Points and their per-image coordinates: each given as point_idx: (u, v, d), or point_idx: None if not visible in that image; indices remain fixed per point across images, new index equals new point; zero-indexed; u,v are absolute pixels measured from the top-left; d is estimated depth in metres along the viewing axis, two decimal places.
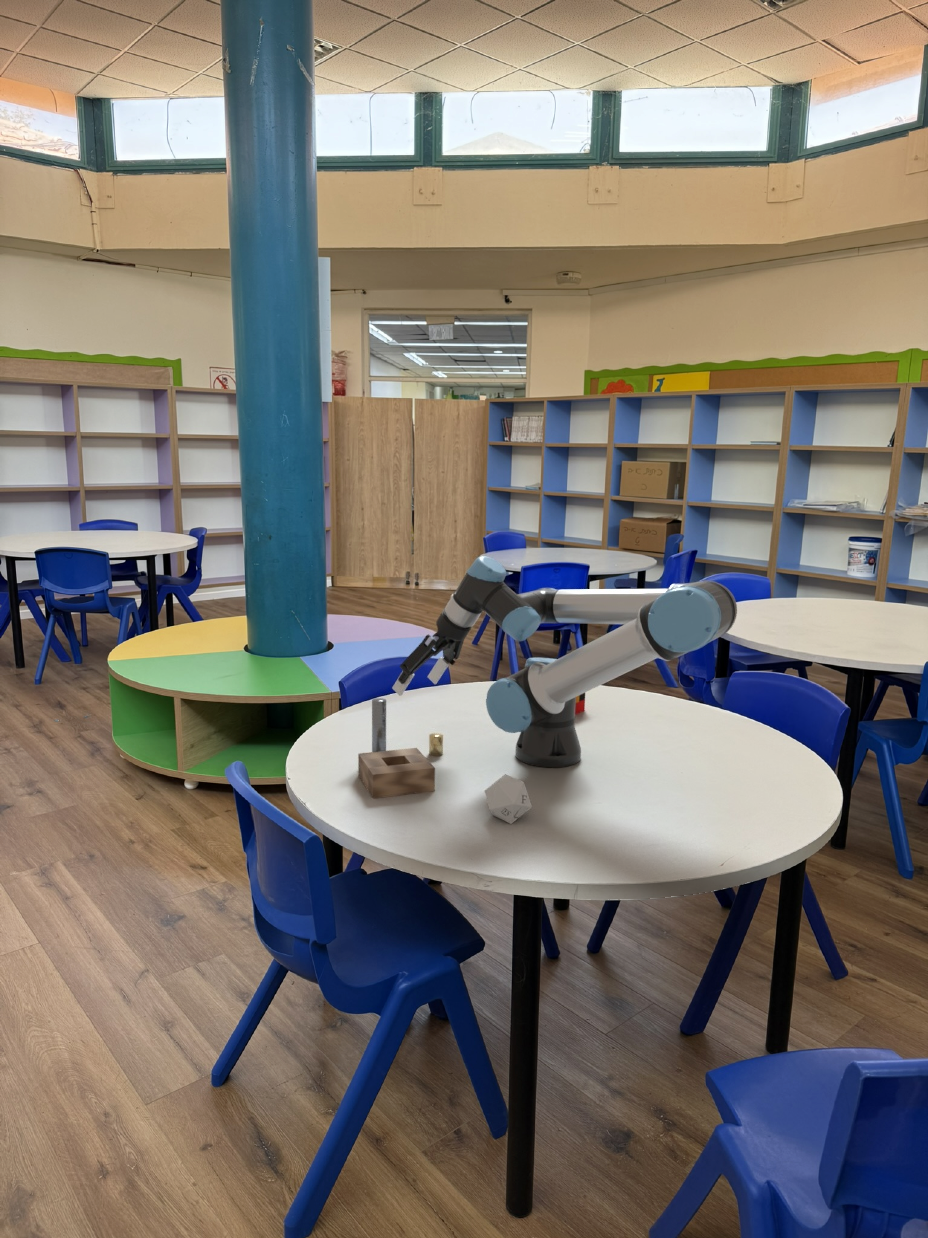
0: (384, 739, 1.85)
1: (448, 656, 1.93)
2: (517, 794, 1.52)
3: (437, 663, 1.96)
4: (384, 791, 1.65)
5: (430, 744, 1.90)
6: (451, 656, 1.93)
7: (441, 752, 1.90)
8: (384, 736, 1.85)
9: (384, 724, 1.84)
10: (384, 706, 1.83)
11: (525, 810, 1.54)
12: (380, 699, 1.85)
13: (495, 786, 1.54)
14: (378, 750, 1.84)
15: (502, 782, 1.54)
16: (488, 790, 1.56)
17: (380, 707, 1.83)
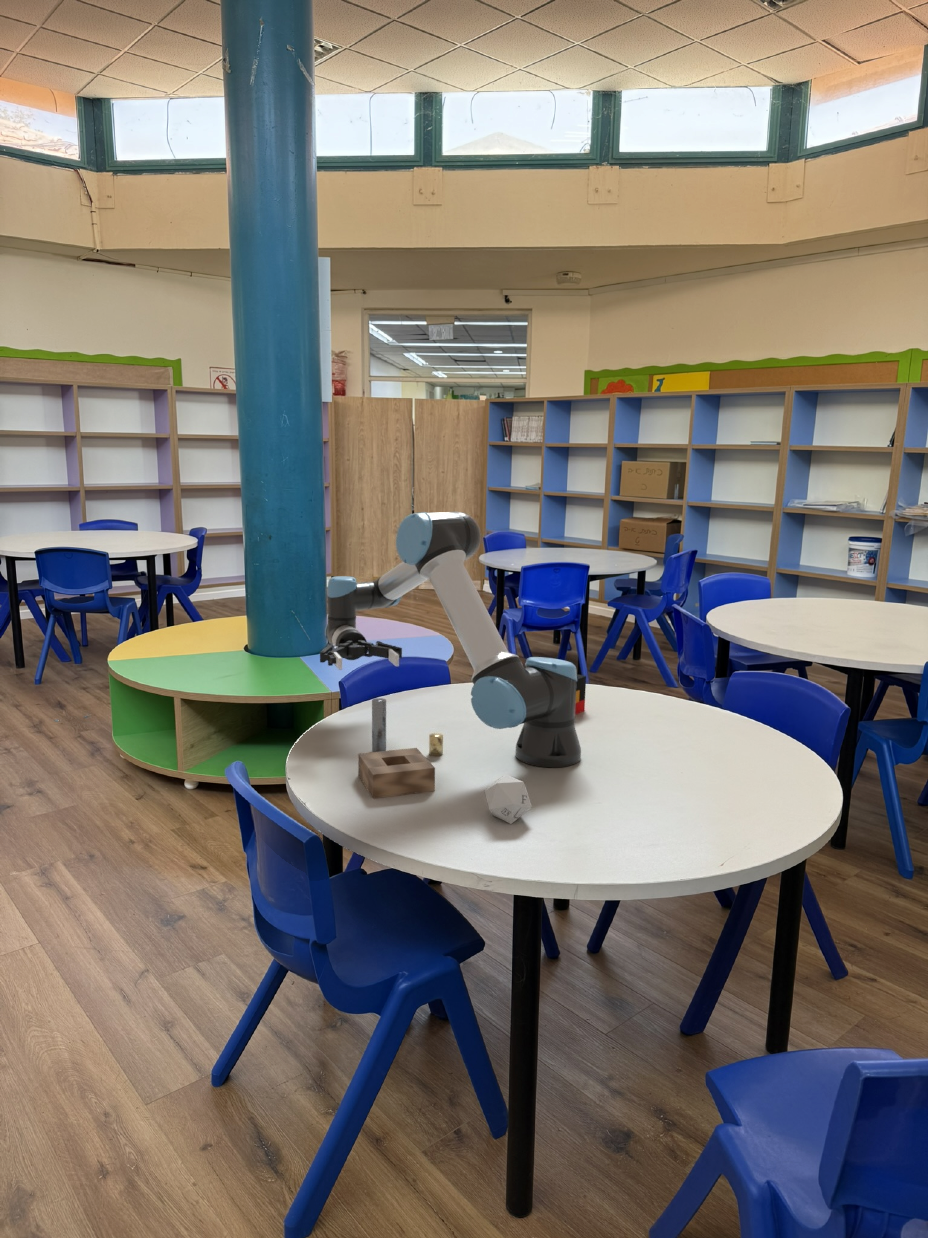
0: (384, 739, 1.85)
1: (381, 649, 2.02)
2: (517, 794, 1.52)
3: (390, 660, 1.98)
4: (384, 791, 1.65)
5: (430, 744, 1.90)
6: (383, 647, 2.02)
7: (441, 752, 1.90)
8: (384, 736, 1.85)
9: (384, 724, 1.84)
10: (384, 706, 1.83)
11: (525, 810, 1.54)
12: (380, 699, 1.85)
13: (495, 786, 1.54)
14: (378, 750, 1.84)
15: (502, 782, 1.54)
16: (488, 790, 1.56)
17: (380, 707, 1.83)
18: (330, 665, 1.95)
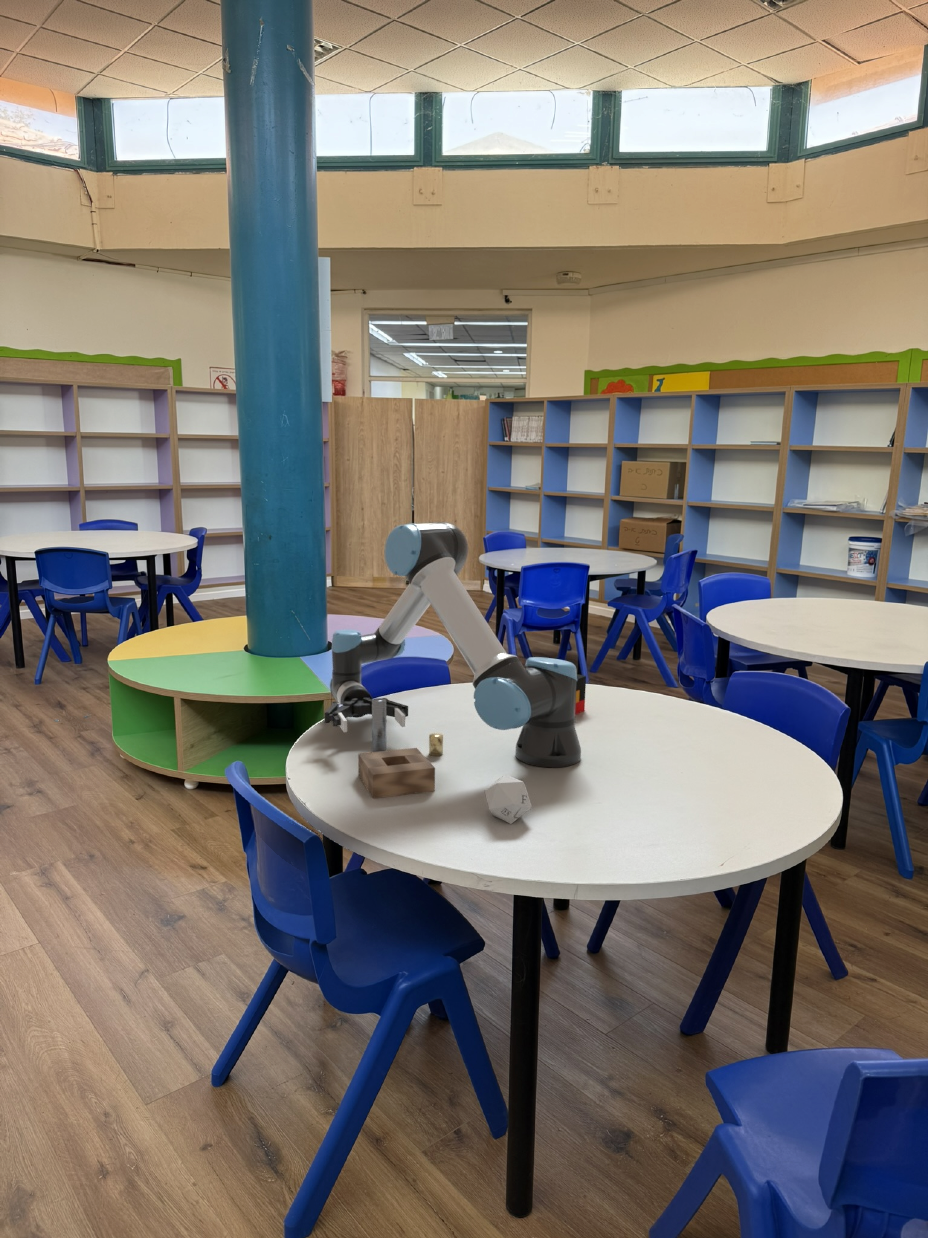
0: (384, 739, 1.85)
1: (387, 707, 1.97)
2: (517, 794, 1.52)
3: (396, 719, 1.94)
4: (384, 791, 1.65)
5: (430, 744, 1.90)
6: (389, 705, 1.97)
7: (441, 752, 1.90)
8: (384, 736, 1.85)
9: (384, 724, 1.84)
10: (384, 706, 1.83)
11: (525, 810, 1.54)
12: (380, 699, 1.85)
13: (495, 786, 1.54)
14: (378, 750, 1.84)
15: (502, 782, 1.54)
16: (488, 790, 1.56)
17: (380, 707, 1.83)
18: (335, 726, 1.91)
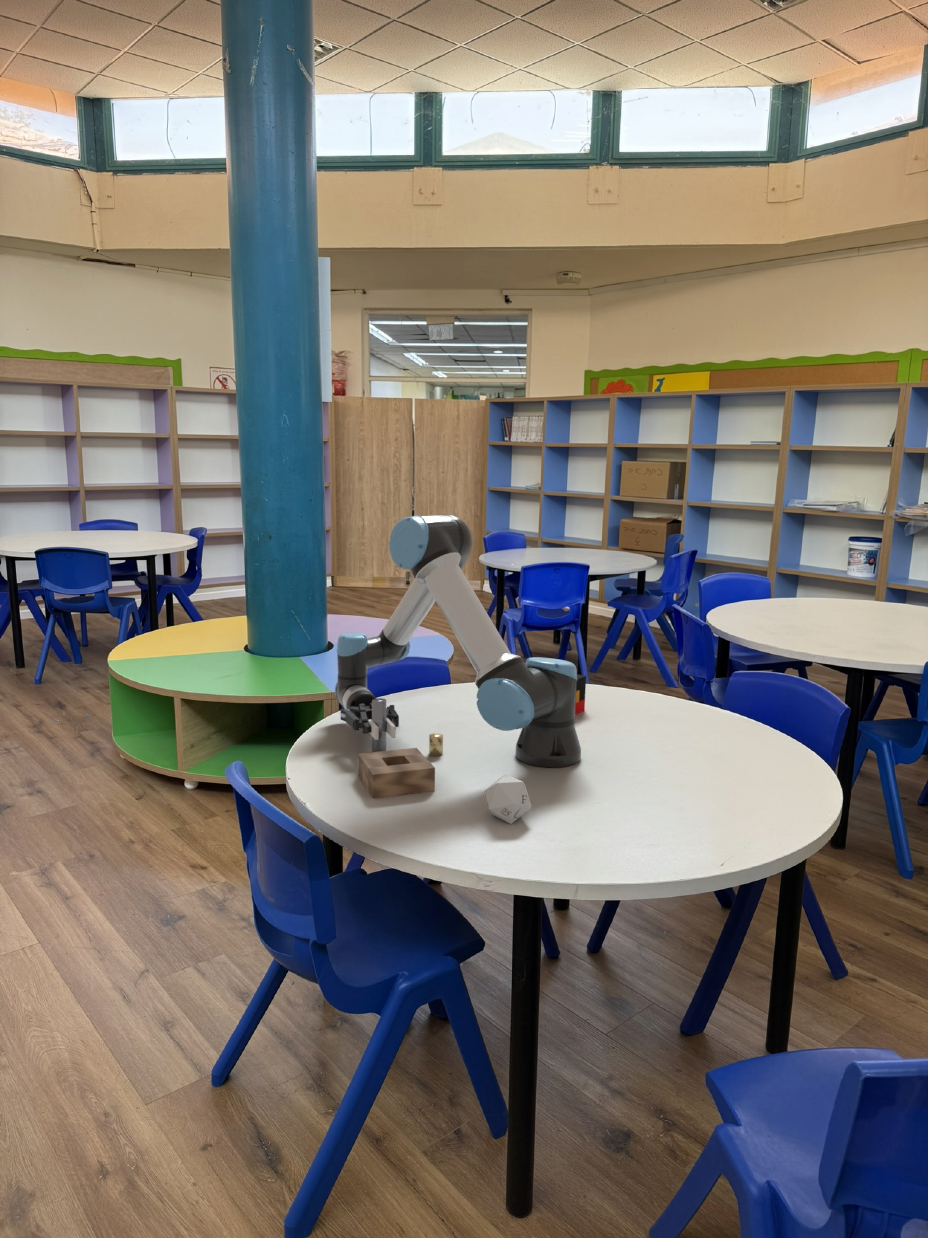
0: (384, 739, 1.85)
1: None
2: (517, 794, 1.52)
3: (386, 730, 1.85)
4: (384, 791, 1.65)
5: (430, 744, 1.90)
6: None
7: (441, 752, 1.90)
8: (384, 736, 1.85)
9: (384, 724, 1.84)
10: (384, 706, 1.83)
11: (525, 810, 1.54)
12: (380, 699, 1.85)
13: (495, 786, 1.54)
14: (378, 750, 1.84)
15: (502, 782, 1.54)
16: (488, 790, 1.56)
17: (380, 707, 1.83)
18: (366, 733, 1.86)
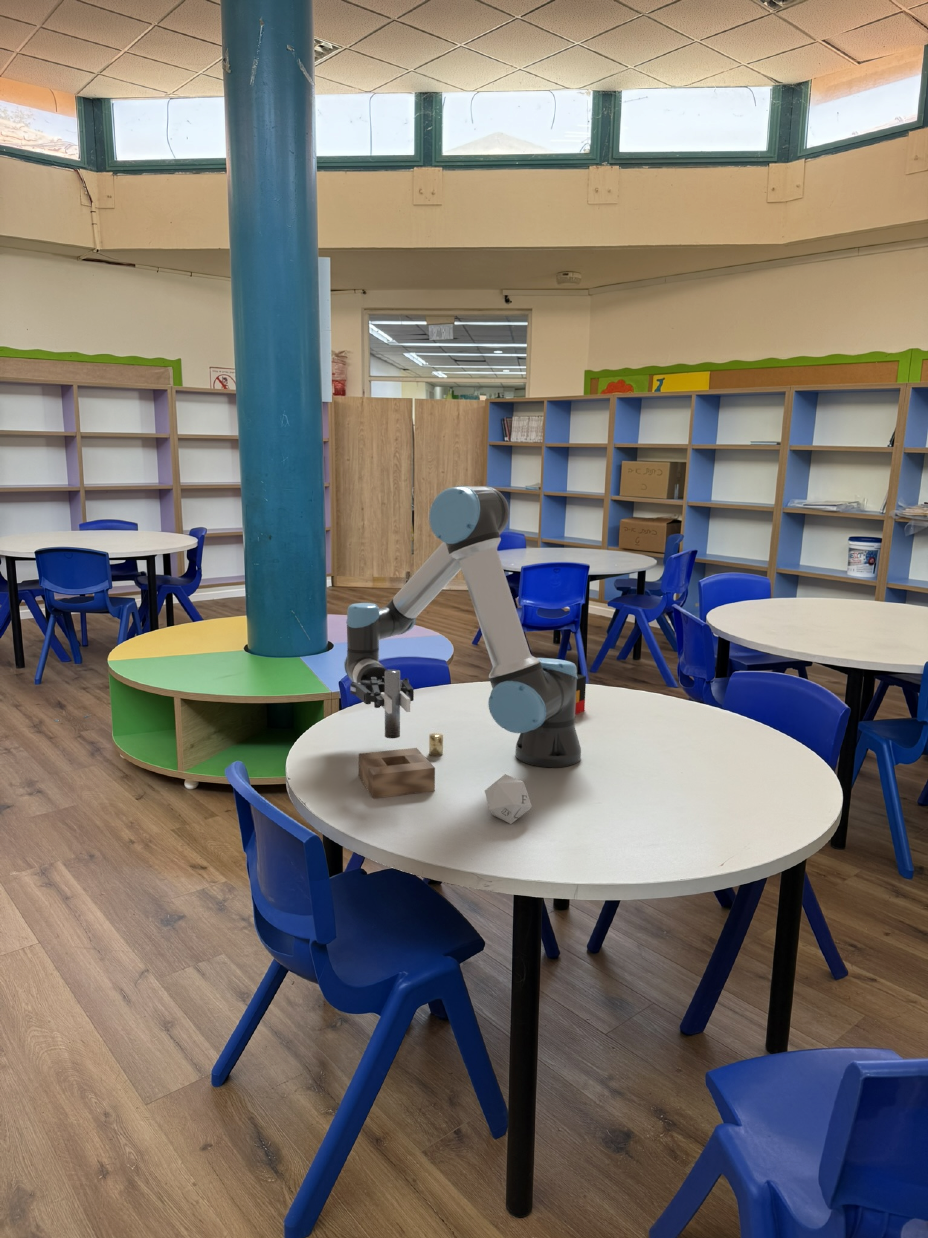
0: (398, 713, 1.71)
1: None
2: (517, 794, 1.52)
3: (400, 704, 1.71)
4: (384, 791, 1.65)
5: (430, 744, 1.90)
6: None
7: (441, 752, 1.90)
8: (398, 710, 1.70)
9: (398, 697, 1.70)
10: (398, 677, 1.69)
11: (525, 810, 1.54)
12: (393, 670, 1.70)
13: (495, 786, 1.54)
14: (391, 725, 1.70)
15: (502, 782, 1.54)
16: (488, 790, 1.56)
17: (394, 678, 1.69)
18: (378, 707, 1.71)
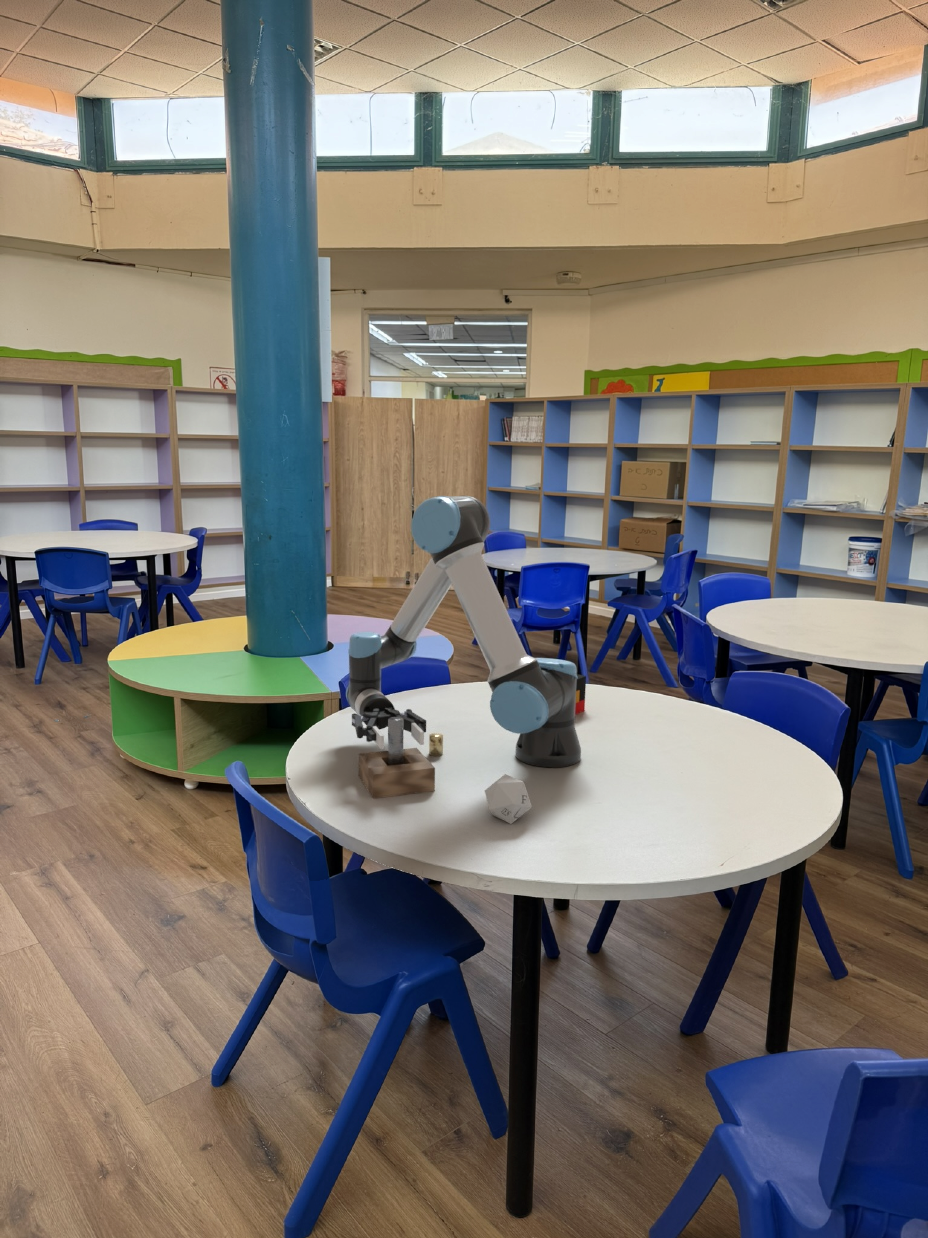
0: (401, 761, 1.71)
1: (405, 721, 1.76)
2: (517, 794, 1.52)
3: (413, 736, 1.72)
4: (384, 791, 1.65)
5: (430, 744, 1.90)
6: (407, 719, 1.76)
7: (441, 752, 1.90)
8: (401, 758, 1.71)
9: (401, 745, 1.70)
10: (401, 726, 1.69)
11: (525, 810, 1.54)
12: (397, 718, 1.71)
13: (495, 786, 1.54)
14: None
15: (502, 782, 1.54)
16: (488, 790, 1.56)
17: (397, 727, 1.69)
18: (370, 741, 1.71)
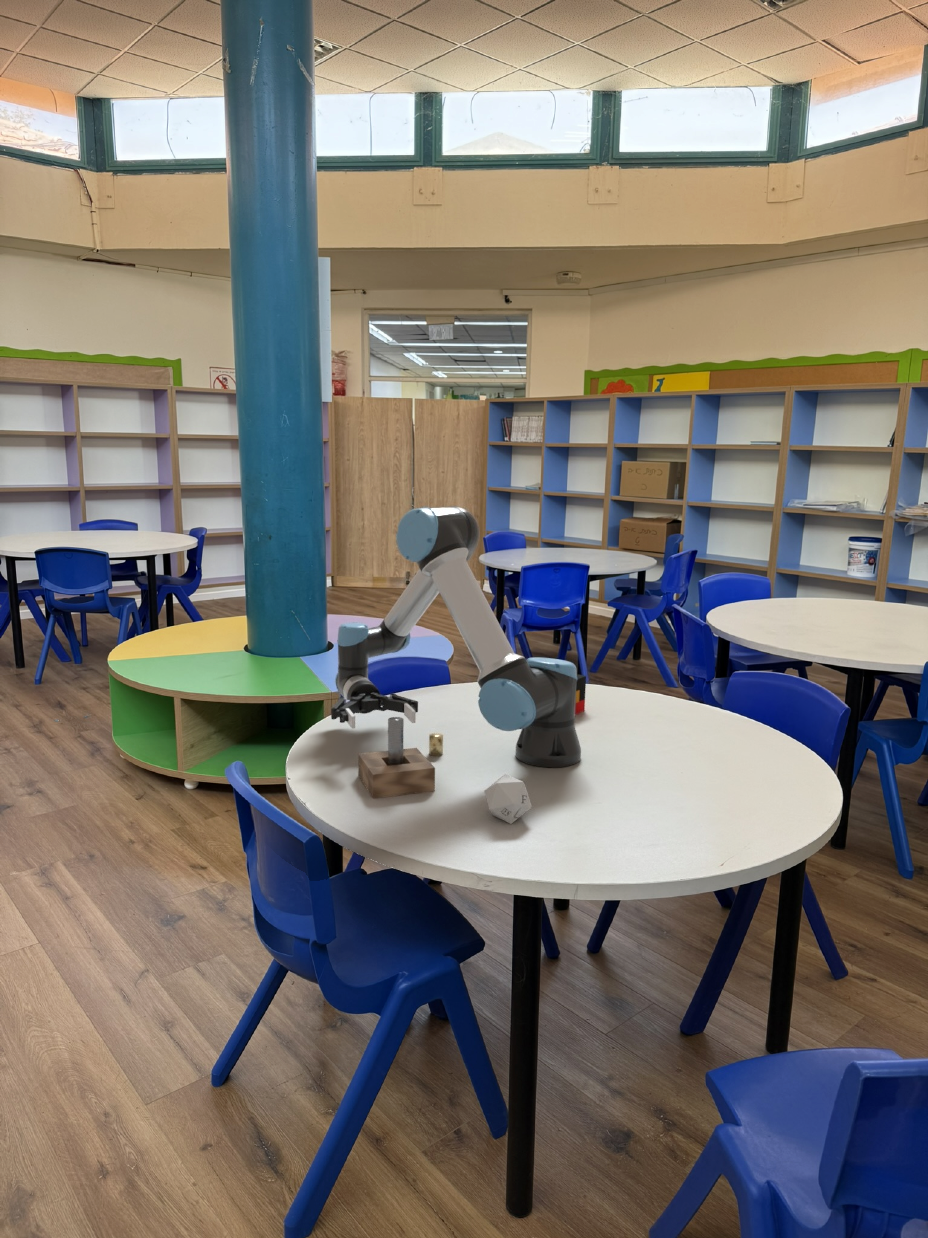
0: (401, 761, 1.71)
1: (396, 703, 1.90)
2: (517, 794, 1.52)
3: (406, 715, 1.86)
4: (384, 791, 1.65)
5: (430, 744, 1.90)
6: (398, 701, 1.90)
7: (441, 752, 1.90)
8: (401, 758, 1.71)
9: (401, 745, 1.70)
10: (401, 726, 1.70)
11: (525, 810, 1.54)
12: (397, 718, 1.71)
13: (495, 786, 1.54)
14: None
15: (502, 782, 1.54)
16: (488, 790, 1.56)
17: (397, 726, 1.69)
18: (342, 722, 1.83)
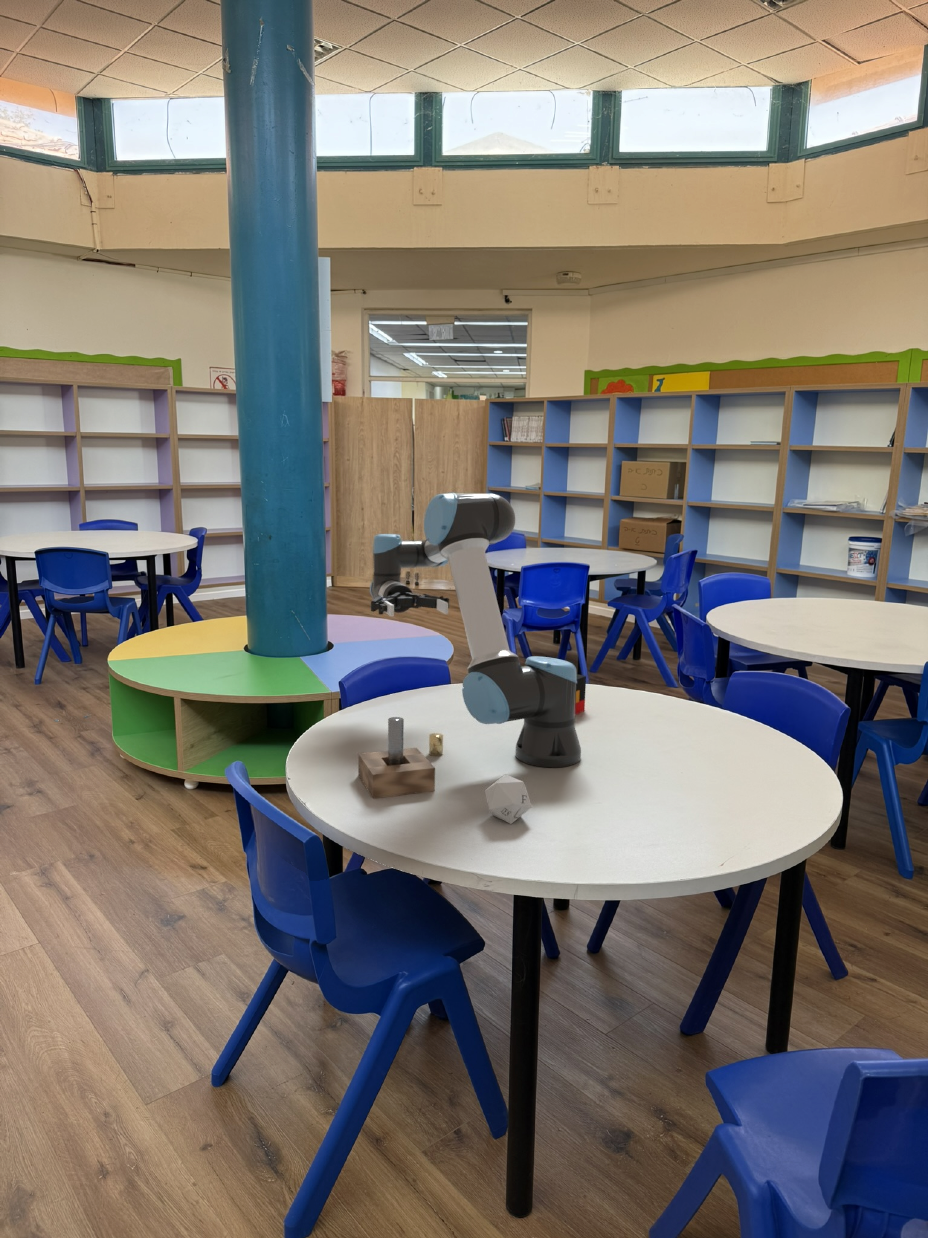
0: (401, 761, 1.71)
1: (429, 599, 2.07)
2: (517, 794, 1.52)
3: (438, 609, 2.04)
4: (384, 791, 1.65)
5: (430, 744, 1.90)
6: (431, 598, 2.07)
7: (441, 752, 1.90)
8: (401, 758, 1.71)
9: (401, 745, 1.70)
10: (401, 726, 1.70)
11: (525, 810, 1.54)
12: (397, 718, 1.71)
13: (495, 786, 1.54)
14: None
15: (502, 782, 1.54)
16: (488, 790, 1.56)
17: (397, 726, 1.69)
18: None
